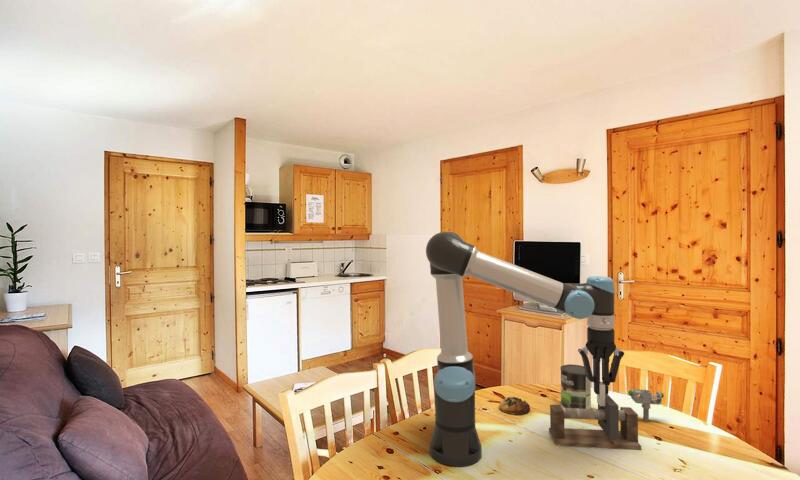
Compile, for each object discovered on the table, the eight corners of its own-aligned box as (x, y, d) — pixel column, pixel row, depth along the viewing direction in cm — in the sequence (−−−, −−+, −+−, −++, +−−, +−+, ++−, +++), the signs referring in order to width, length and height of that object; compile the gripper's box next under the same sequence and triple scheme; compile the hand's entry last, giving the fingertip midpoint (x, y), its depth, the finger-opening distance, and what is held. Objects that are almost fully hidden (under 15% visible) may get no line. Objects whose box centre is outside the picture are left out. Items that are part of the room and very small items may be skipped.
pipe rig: (556, 445, 123) (555, 413, 123) (548, 431, 132) (548, 401, 132) (641, 449, 120) (641, 416, 120) (627, 434, 129) (627, 403, 129)
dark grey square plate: (610, 439, 120) (609, 405, 120) (597, 423, 130) (597, 392, 130) (618, 439, 120) (618, 405, 120) (605, 423, 130) (605, 392, 130)
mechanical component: (664, 423, 136) (664, 393, 135) (630, 421, 138) (630, 391, 137) (660, 419, 138) (660, 390, 138) (627, 417, 141) (627, 388, 140)
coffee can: (574, 415, 143) (573, 375, 143) (554, 403, 153) (554, 366, 153) (598, 410, 146) (597, 371, 146) (577, 399, 156) (577, 363, 156)
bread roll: (535, 414, 144) (533, 400, 144) (504, 420, 143) (502, 406, 143) (524, 402, 155) (521, 389, 155) (495, 408, 154) (493, 394, 154)
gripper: (582, 330, 122) (582, 408, 122) (628, 330, 120) (628, 410, 121) (574, 324, 129) (575, 398, 130) (618, 325, 128) (618, 400, 128)
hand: (601, 404), depth 125 cm, fingers closed
